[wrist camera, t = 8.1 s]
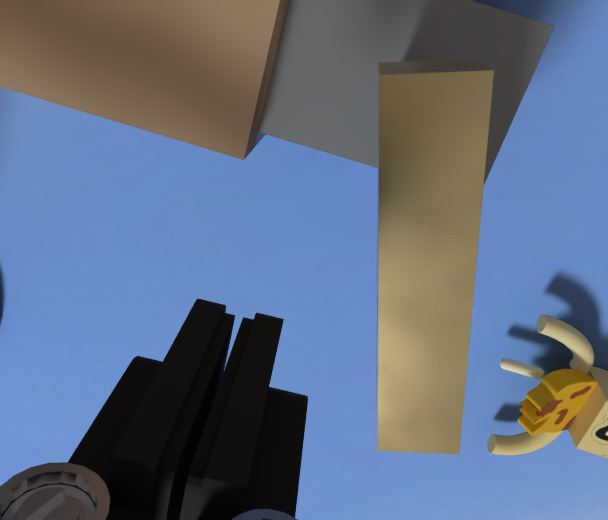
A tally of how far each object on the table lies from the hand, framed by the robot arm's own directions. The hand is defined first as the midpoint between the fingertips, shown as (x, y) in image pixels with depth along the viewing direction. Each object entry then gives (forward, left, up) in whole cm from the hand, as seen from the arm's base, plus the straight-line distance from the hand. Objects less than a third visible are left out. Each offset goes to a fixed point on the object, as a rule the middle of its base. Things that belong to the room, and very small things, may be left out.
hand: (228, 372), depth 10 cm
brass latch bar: (+2, -4, -8) cm, 9 cm away
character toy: (-5, -14, -15) cm, 21 cm away
